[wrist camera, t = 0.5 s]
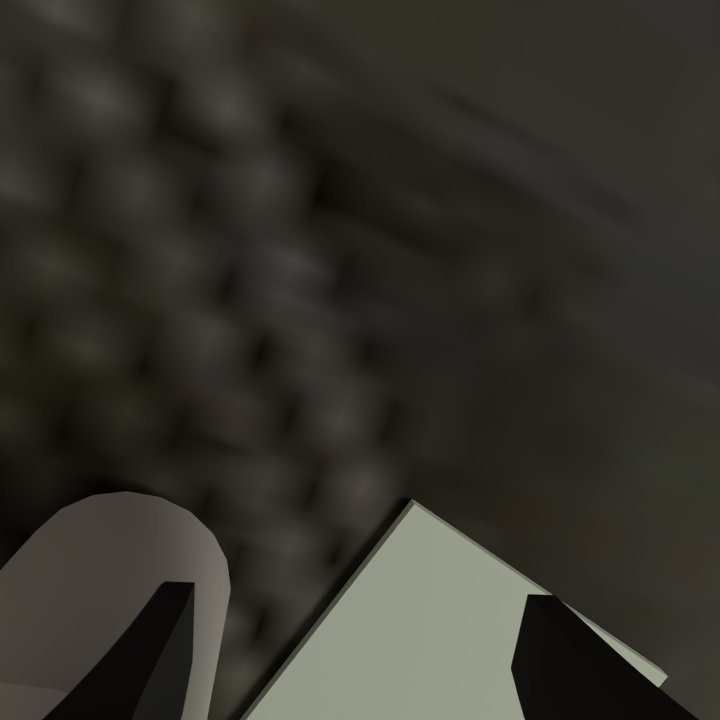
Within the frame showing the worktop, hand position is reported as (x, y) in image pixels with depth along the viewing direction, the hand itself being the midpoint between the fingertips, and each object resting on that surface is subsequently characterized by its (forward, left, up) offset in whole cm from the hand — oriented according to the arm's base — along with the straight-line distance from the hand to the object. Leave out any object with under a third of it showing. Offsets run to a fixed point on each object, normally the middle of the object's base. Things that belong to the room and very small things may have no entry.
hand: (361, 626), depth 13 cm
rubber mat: (-7, -10, -10) cm, 16 cm away
